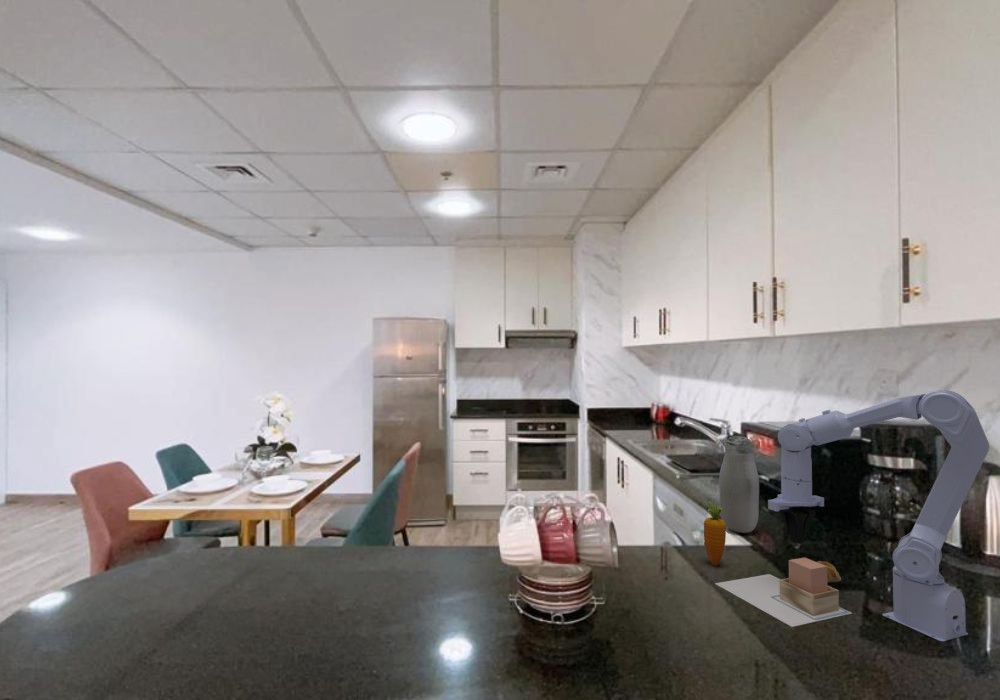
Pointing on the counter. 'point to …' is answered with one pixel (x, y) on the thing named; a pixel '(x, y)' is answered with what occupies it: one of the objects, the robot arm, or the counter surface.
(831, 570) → the pastry
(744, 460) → the glass bottle
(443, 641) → the counter surface
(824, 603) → the maple base block
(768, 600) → the board
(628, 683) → the counter surface
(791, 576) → the terracotta block
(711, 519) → the carrot
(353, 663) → the counter surface
